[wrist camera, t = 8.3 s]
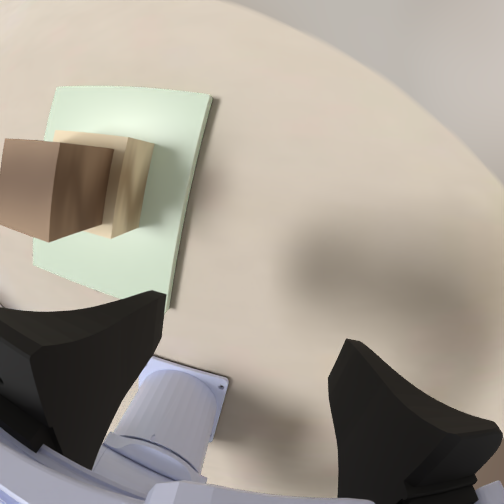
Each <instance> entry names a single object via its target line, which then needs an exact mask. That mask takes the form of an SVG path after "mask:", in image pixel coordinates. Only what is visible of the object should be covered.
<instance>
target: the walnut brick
mask: <svg viewBox="0 0 504 504" xmlns="http://www.w3.org/2000/svg"><path fill="white" fill-rule="evenodd" d="M113 153H114V149H111V148H104V147H96V146H88V145H80V144H71V143H62V142H51V141H38V140H24V139H5V142H4V148H3V155H2V162H1V170H0V225H3V226H5V227H8V228H10V229H13V230H16V231H18V232H21V233H24V234H26V235H29V236H32V237H34V238H37V239H40V240H43V241H45V242H48V243H49V242H52V241H55V240H58V239H60V238H63V237H66V236H69V235H72V234H75V233H78V232H81V231H84V230H87V229H90V228H93V227H96V226H99V225H102V221H103V213H104V205H105V198H106V192H107V186H108V180H109V174H110V168H111V163H112V158H113Z"/></svg>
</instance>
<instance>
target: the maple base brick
mask: <svg viewBox="0 0 504 504" xmlns="http://www.w3.org/2000/svg"><path fill="white" fill-rule="evenodd" d="M53 142H62V143H71V144H80V145H88V146H96V147H104V148H111V149H114V153H113V158H112V163H111V168H110V174H109V180H108V186H107V192H106V198H105V205H104V213H103V221H102V225H99V226H96V227H93V228H90V229H87V230H84V231H85V232H89V233H92V234H95V235H99V236H102V237H106V238H109V239H112V238H115V237H117V236H119V235H122V234H124V233H127V232H129V231H132V230H134V229H136V228H139V222H140V216H141V210H142V204H143V198H144V192H145V187H146V182H147V177H148V172H149V167H150V162H151V158H152V153H153V149H154V145H155V144H154V143H150V142H146V141H142V140H138V139H134V138H130V137H123V136H115V135H106V134H97V133H87V132H76V131H63V130H55V133H54V138H53Z"/></svg>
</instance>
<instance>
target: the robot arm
mask: <svg viewBox="0 0 504 504" xmlns="http://www.w3.org/2000/svg"><path fill="white" fill-rule="evenodd" d="M166 296H167V294H164V293H160V292H157V291H154V290H150V291H146V292H143V293H139V294H136V295H133V296H130V297H127V298H124V299H121V300H118V301H114V302H110V303H107V304H103V305H99V306H95V307H90V308H85V309H78V310H71V311H55V312H33V311H21V310H14V309H8V308H2V307H0V503H1V504H504V488H503V486H502V484H501V482H500V481H495V482H492V483H490V484H487V485H484V486H482V487H480V488H478V489H477V490H474V488H473V484H475V483H476V482H477V478H476V476H475V473H476V472H477V471H478V470H479V469H480V468H481V467H482V466H483V465H484V464H485V463H486V462H487V461H488V460H489V459H490V457H492V455H493V454H494V453H495V452H496V451H497V449H498V447H499V446H500V444H501V441H502V438H503V433H502V432H501V430H500V429H499V427H498V426H497V424H496V423H495V422H493V421H490V420H486V419H482V418H479V417H475V416H472V415H469V414H466V413H464V412H461V411H458V410H456V409H454V408H451V407H449V406H447V405H445V404H443V403H441V402H439V401H437V400H436V399H434V398H432V397H430V396H429V395H427V394H425V393H424V392H422V391H421V390H419V389H418V388H416V387H415V386H414V385H412V384H411V383H409V382H408V381H407V380H406V379H404V378H403V377H402V376H401V375H399V374H398V373H397V372H396V371H395V370H393V369H392V368H391V367H390V366H389V365H388V364H387V363H385V362H384V361H383V360H382V359H381V358H380V357H379V356H378V355H376V354H375V353H374V352H373V351H372V350H371V349H370V348H368V347H367V346H366V345H365V344H363V343H362V342H360V341H356V340H351V339H346V340H345V343H344V345H343V347H342V349H341V352H340V354H339V356H338V358H337V360H336V362H335V365H334V367H333V369H332V371H331V373H330V375H329V377H328V392H329V402H330V408H331V413H332V418H333V423H334V429H335V434H336V439H337V447H338V468H339V473H338V498H311V497H294V496H283V495H273V494H265V493H258V492H251V491H245V490H239V489H233V488H228V487H223V486H218V485H214V484H206V482H207V477H204V476H202V475H201V471H202V467H203V463H204V459H205V455H206V451H207V447H208V443H209V442H212V441H213V437H214V434H215V430H216V427H217V423H218V419H219V416H220V412H221V409H222V405H223V402H224V398H225V394H226V391H227V387H228V383H229V380H228V379H227V378H226V377H223V376H219V375H215V374H211V373H207V372H204V371H200V370H197V369H193V368H190V367H186V366H183V365H180V364H177V363H173V362H170V361H167V360H164V359H161V358H158V357H155V356H153V354H154V352H155V350H156V348H157V346H158V344H159V342H160V340H161V337H162V328H163V319H164V311H165V303H166ZM138 376H139V390H138V391H137V393H136V395H135V396H134V398H133V400H132V401H131V403H130V405H129V406H128V408H127V410H126V411H125V413H124V415H123V417H122V418H121V420H120V422H119V423H118V425H117V427H116V428H115V430H114V432H110V433H109V434H108V436H107V438H106V439H105V441H104V443H103V444H102V442H103V440H104V437H105V435H106V433H107V431H108V429H109V426H110V424H111V422H112V420H113V418H114V416H115V414H116V412H117V410H118V408H119V406H120V404H121V402H122V400H123V398H124V397H125V395H126V394H127V392H128V391H129V389H130V388H131V386H132V385H133V383H134V382H135V380H136V379H137V378H138ZM220 385H222V386H224V387H220Z"/></svg>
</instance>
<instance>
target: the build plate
mask: <svg viewBox="0 0 504 504" xmlns="http://www.w3.org/2000/svg"><path fill="white" fill-rule="evenodd" d="M212 100H213V98H212V96H211V95H209V94H202V93H195V92H187V91H179V90H169V89H159V88H146V87H128V86H64V87H57V88H56V92H55V95H54V99H53V102H52V106H51V110H50V114H49V118H48V123H47V127H46V132H45V137H44V141H51V142H53V138H54V133H55V130H63V131H76V132H87V133H97V134H106V135H115V136H123V137H130V138H134V139H138V140H142V141H146V142H150V143H154V144H155V145H154V149H153V153H152V158H151V162H150V167H149V172H148V177H147V182H146V187H145V192H144V198H143V204H142V210H141V216H140V222H139V228H136V229H134V230H132V231H129V232H127V233H124V234H122V235H119V236H117V237H115V238H112V239H109V238H106V237H102V236H99V235H95V234H92V233H89V232H85V231H81V232H78V233H75V234H72V235H69V236H66V237H63V238H60V239H58V240H55V241H52V242H49V243H48V242H45V241H43V240H40V239H37V238H34V237H33V265H34V266H37V267H39V268H41V269H44V270H46V271H48V272H51V273H53V274H56V275H58V276H60V277H63V278H65V279H68V280H71V281H73V282H76V283H78V284H81V285H83V286H86V287H89V288H91V289H94V290H97V291H100V292H102V293H105V294H108V295H111V296H113V297H116V298H119V299H124V298H127V297H130V296H133V295H136V294H139V293H143V292H146V291H150V290H154V291H157V292H160V293H164V294H167V296H166V303H165V311H164V313H166V312H167V311H168V309H169V307H170V300H171V293H172V287H173V280H174V274H175V268H176V262H177V256H178V250H179V245H180V239H181V234H182V229H183V223H184V218H185V213H186V208H187V203H188V199H189V194H190V189H191V185H192V180H193V176H194V171H195V167H196V163H197V158H198V154H199V150H200V146H201V142H202V138H203V134H204V130H205V126H206V122H207V119H208V115H209V111H210V107H211V104H212Z"/></svg>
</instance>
